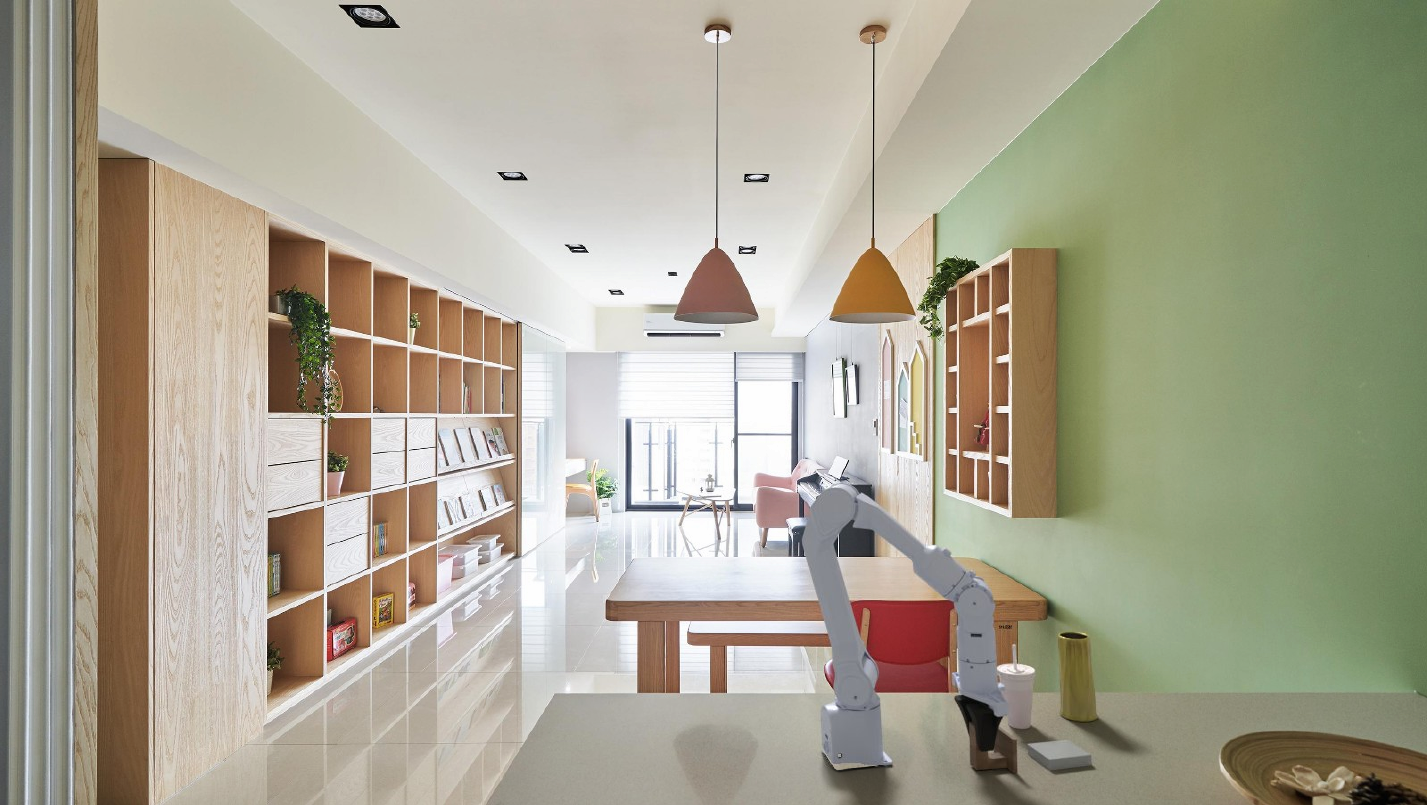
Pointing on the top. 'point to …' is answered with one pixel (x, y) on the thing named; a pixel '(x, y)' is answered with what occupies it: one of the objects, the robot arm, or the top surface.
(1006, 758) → the u-shaped wooden bracket
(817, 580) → the robot arm
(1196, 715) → the top surface
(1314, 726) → the top surface
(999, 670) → the smoothie
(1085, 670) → the vase
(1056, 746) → the tile
